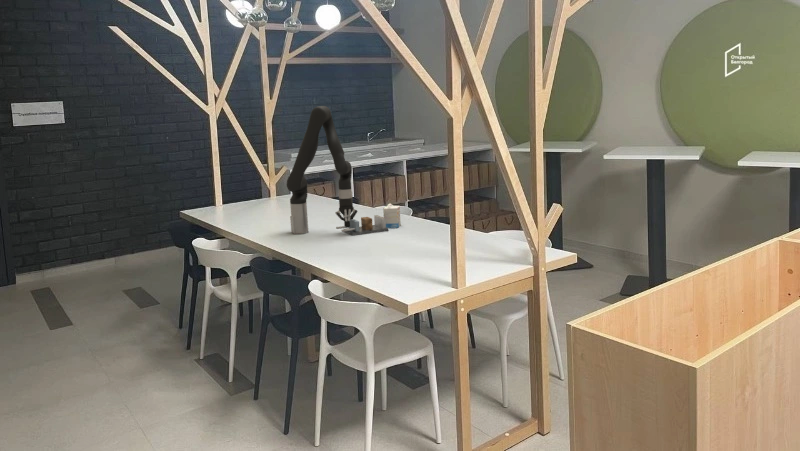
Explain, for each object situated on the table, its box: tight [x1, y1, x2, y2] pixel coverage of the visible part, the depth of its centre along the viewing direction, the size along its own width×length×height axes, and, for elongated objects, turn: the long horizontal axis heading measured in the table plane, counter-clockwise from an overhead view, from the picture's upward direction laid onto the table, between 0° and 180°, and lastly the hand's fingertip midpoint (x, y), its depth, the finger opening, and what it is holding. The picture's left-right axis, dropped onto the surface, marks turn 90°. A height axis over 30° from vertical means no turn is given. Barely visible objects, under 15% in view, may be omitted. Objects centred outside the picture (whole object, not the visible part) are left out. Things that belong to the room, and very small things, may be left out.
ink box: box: [382, 203, 402, 229], centre depth 397 cm, size 9×8×13 cm
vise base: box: [344, 214, 389, 237], centre depth 388 cm, size 22×14×7 cm, turn 114°
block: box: [360, 216, 373, 230], centre depth 388 cm, size 4×7×6 cm, turn 24°
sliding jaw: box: [335, 218, 361, 233], centre depth 384 cm, size 10×12×6 cm
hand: (347, 227), depth 383 cm, fingers closed
